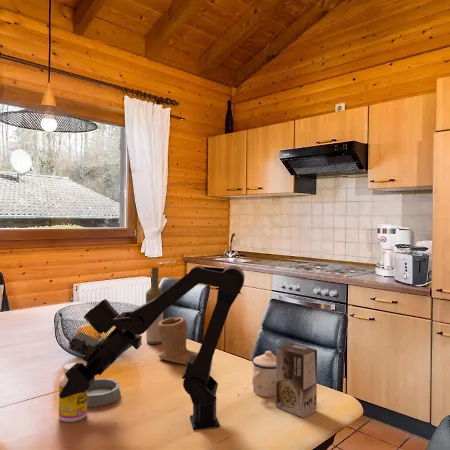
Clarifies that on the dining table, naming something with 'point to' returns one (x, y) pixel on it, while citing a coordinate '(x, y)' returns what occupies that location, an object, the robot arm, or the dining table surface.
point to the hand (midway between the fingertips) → (68, 389)
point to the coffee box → (296, 379)
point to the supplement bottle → (71, 401)
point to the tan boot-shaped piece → (174, 340)
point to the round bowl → (103, 392)
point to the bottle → (152, 331)
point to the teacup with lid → (264, 375)
